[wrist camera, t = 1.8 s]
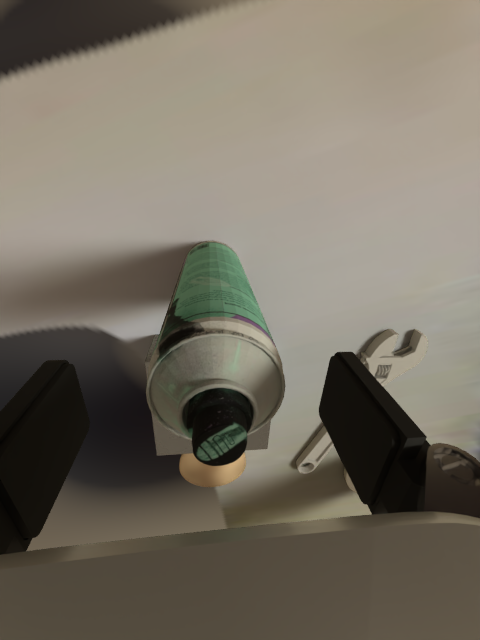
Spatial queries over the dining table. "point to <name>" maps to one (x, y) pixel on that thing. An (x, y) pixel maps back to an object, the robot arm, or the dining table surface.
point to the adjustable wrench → (384, 369)
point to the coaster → (210, 471)
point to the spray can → (214, 359)
